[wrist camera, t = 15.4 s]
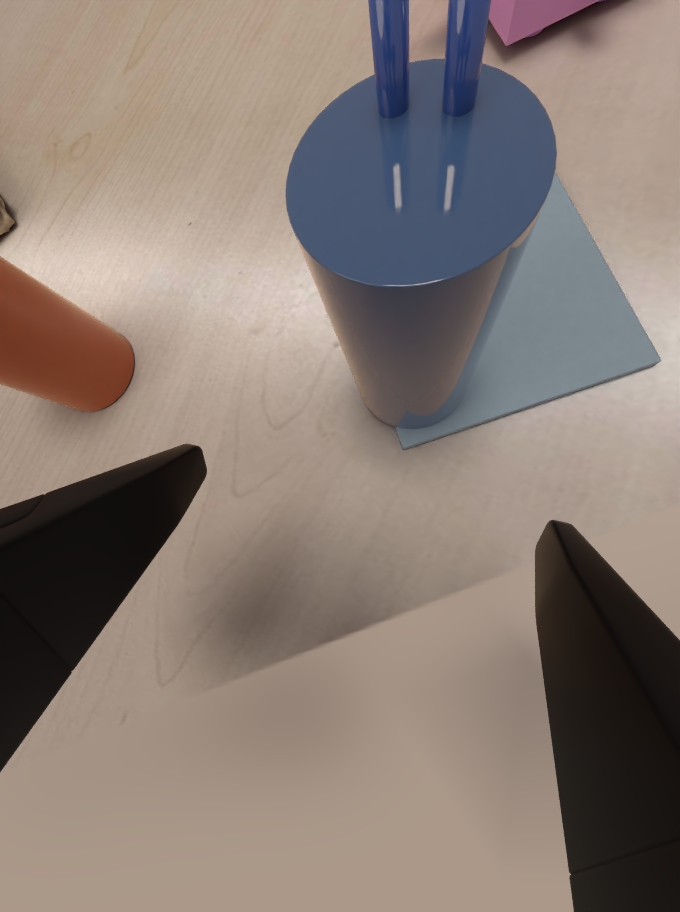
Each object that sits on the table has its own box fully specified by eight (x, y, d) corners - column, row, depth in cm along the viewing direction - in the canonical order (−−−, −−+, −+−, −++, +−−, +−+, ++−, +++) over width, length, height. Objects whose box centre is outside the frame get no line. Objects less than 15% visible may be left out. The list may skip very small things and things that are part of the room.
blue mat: (654, 365, 19) (662, 360, 19) (403, 450, 21) (402, 448, 21) (519, 122, 24) (522, 112, 23) (318, 211, 25) (316, 204, 25)
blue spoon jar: (459, 437, 20) (614, 154, 5) (348, 419, 22) (181, 154, 6) (478, 331, 21) (664, -210, 5) (370, 320, 22) (274, -134, 7)
